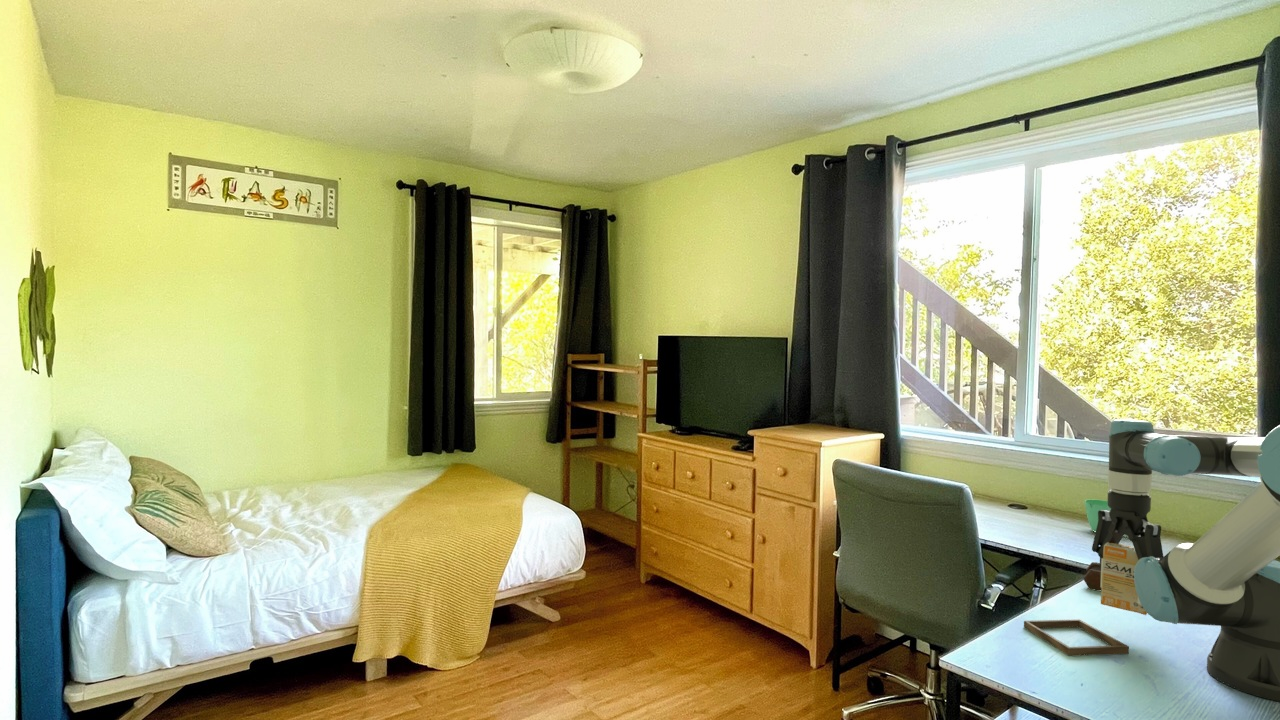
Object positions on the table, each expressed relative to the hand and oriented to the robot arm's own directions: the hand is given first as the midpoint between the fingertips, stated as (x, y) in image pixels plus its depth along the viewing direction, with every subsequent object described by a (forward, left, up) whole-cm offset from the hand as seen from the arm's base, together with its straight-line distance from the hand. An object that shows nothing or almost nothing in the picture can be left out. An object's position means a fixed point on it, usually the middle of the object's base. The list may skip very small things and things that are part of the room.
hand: (1125, 595), depth 144 cm
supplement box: (0, 0, -3) cm, 3 cm away
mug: (+74, -62, -9) cm, 97 cm away
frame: (-2, +13, -9) cm, 16 cm away
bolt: (+31, -20, -9) cm, 38 cm away
